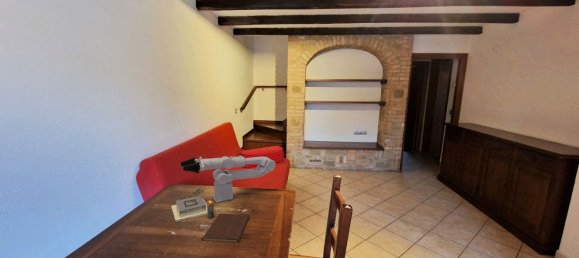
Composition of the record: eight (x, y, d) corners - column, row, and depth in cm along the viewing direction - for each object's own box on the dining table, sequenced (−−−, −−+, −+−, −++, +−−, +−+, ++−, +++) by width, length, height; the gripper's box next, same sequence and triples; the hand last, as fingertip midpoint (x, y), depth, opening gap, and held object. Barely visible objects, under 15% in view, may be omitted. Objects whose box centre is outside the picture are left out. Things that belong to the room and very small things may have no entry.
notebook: (201, 241, 102) (201, 236, 102) (218, 216, 122) (218, 212, 121) (238, 243, 101) (238, 238, 101) (249, 218, 121) (249, 214, 120)
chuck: (200, 201, 134) (200, 195, 133) (206, 210, 124) (205, 204, 123) (176, 206, 128) (175, 200, 127) (179, 217, 118) (179, 210, 117)
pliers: (173, 202, 133) (189, 187, 153) (173, 204, 133) (189, 188, 153) (191, 203, 133) (205, 187, 152) (192, 204, 133) (205, 189, 152)
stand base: (203, 200, 137) (203, 198, 137) (211, 213, 123) (211, 211, 123) (171, 207, 129) (171, 205, 128) (175, 222, 115) (175, 220, 115)
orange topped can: (213, 214, 122) (212, 199, 121) (214, 217, 120) (214, 201, 118) (206, 216, 121) (206, 200, 119) (208, 219, 118) (207, 203, 117)
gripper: (206, 153, 139) (179, 154, 132) (213, 160, 127) (184, 162, 119) (206, 165, 140) (179, 167, 133) (213, 173, 128) (184, 176, 120)
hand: (181, 166), depth 126 cm, fingers open, 7 cm apart
